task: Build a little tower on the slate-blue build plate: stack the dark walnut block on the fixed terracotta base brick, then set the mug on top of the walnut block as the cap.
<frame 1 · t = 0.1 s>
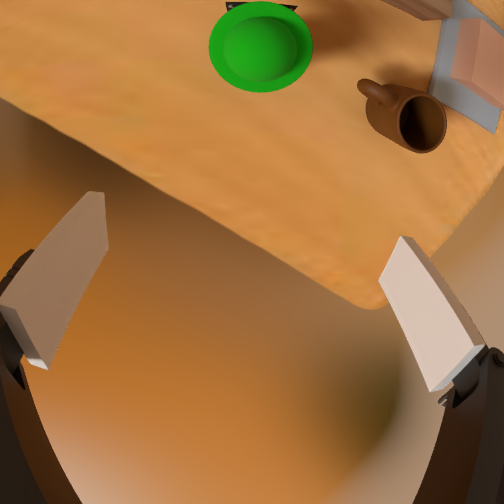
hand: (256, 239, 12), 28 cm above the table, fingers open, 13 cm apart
build plate: (474, 62, 27), on the table
toy: (254, 55, 30), on the table
mug: (375, 101, 33), on the table
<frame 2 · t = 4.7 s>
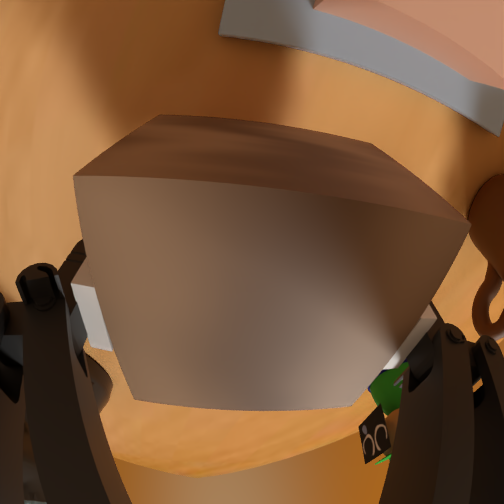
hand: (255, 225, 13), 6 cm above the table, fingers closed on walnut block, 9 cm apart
walnut block: (255, 220, 13), point 5 cm above the table, touching gripper
toy: (387, 349, 30), on the table
mug: (480, 227, 20), on the table
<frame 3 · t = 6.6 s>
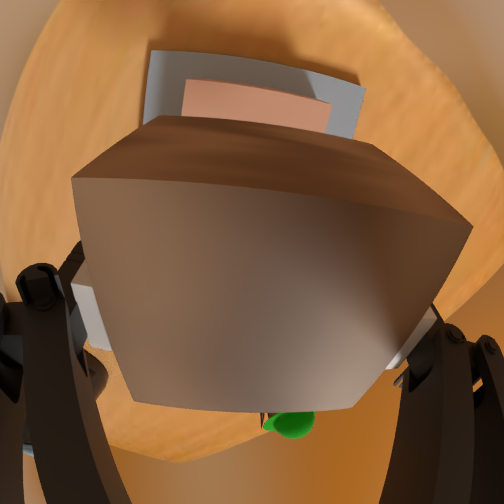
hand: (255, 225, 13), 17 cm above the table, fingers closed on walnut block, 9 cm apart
walnut block: (255, 221, 13), point 17 cm above the table, touching gripper
build plate: (246, 139, 27), on the table
toy: (284, 354, 47), on the table
when the fingers open (8 cm above the table, at t = 8.6 s): walnut block drops 1 cm, resting on build plate.
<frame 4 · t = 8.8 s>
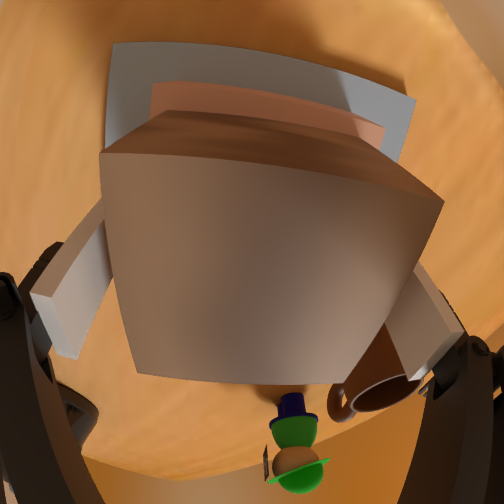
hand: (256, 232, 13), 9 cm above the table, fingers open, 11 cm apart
walnut block: (252, 207, 15), point 6 cm above the table, touching build plate
build plate: (249, 167, 20), on the table
toy: (290, 400, 40), on the table
mug: (349, 331, 31), on the table
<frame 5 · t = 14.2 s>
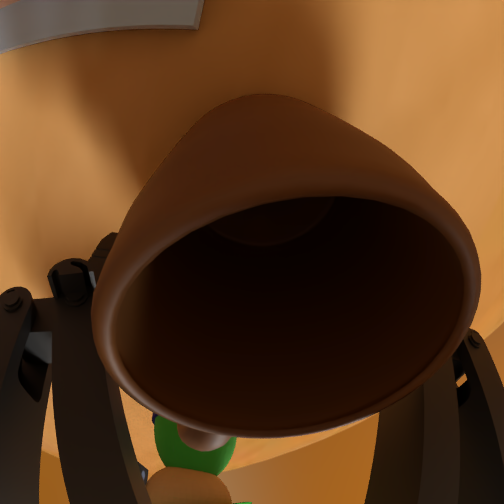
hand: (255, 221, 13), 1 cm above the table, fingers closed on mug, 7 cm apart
toy: (198, 385, 23), on the table
mug: (243, 216, 14), on the table, touching gripper
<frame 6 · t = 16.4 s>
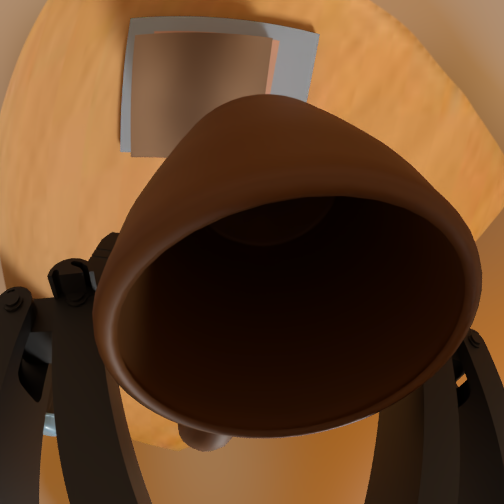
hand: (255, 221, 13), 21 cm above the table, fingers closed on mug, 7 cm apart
walnut block: (206, 89, 23), point 6 cm above the table, touching build plate
build plate: (213, 86, 28), on the table
mug: (244, 216, 14), point 21 cm above the table, touching gripper
when the fingers open (15 cm above the table, at t = 18.6 s): mug drops 2 cm, resting on walnut block.
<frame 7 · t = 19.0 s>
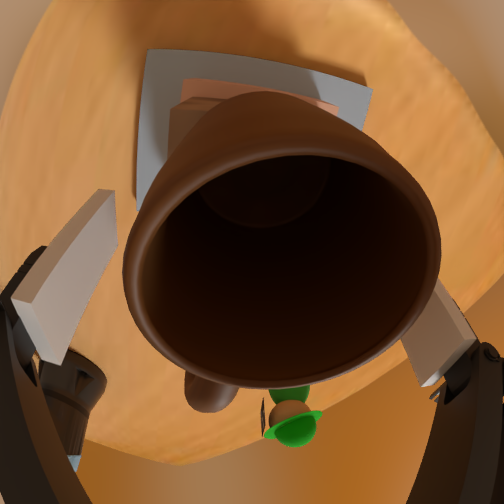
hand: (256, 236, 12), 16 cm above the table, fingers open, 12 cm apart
walnut block: (249, 162, 21), point 6 cm above the table, touching build plate, mug
build plate: (247, 142, 26), on the table
toy: (285, 361, 46), on the table
mug: (244, 201, 15), point 13 cm above the table, touching walnut block
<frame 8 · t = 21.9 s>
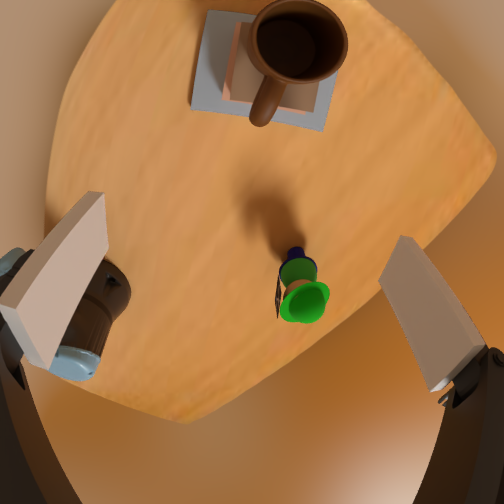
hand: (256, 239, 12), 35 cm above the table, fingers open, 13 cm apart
walnut block: (272, 67, 31), point 6 cm above the table, touching build plate, mug
build plate: (267, 68, 36), on the table
toy: (294, 259, 57), on the table
mug: (274, 65, 26), point 13 cm above the table, touching walnut block
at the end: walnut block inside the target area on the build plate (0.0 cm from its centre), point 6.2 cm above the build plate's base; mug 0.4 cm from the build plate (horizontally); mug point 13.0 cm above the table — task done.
